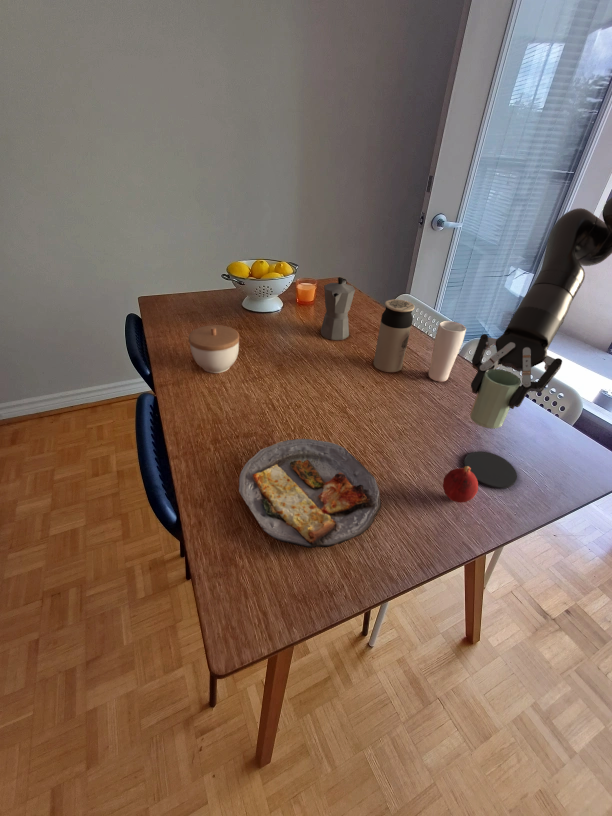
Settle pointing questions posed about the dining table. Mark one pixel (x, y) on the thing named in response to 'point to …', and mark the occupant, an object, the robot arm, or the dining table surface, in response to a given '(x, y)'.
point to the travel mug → (393, 335)
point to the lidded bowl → (214, 347)
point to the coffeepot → (337, 309)
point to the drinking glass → (446, 349)
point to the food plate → (309, 493)
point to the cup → (494, 398)
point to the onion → (460, 484)
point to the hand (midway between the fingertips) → (492, 399)
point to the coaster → (491, 469)
